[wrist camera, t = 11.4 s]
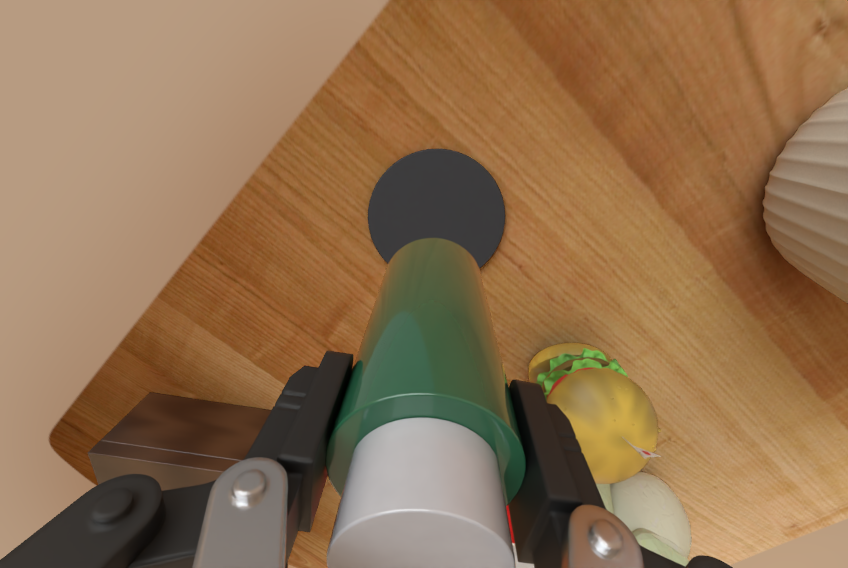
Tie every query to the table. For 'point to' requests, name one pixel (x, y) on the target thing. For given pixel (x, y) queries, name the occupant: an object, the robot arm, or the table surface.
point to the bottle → (426, 425)
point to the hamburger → (599, 408)
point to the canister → (813, 198)
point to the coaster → (437, 204)
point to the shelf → (177, 441)
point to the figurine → (651, 514)
